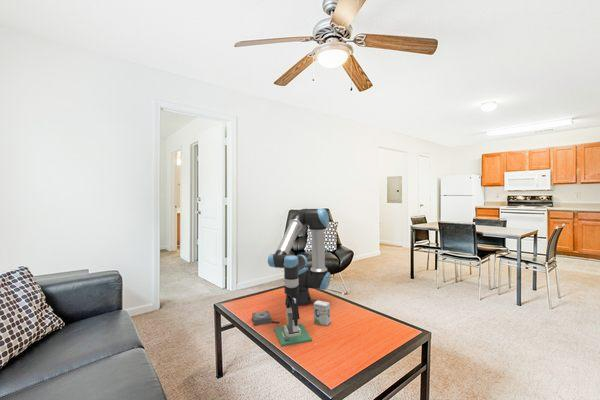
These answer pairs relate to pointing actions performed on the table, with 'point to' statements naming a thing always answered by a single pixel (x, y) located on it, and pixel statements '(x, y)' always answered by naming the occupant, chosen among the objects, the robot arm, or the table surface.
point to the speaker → (261, 318)
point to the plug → (290, 323)
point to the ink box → (322, 312)
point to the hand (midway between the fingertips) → (292, 325)
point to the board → (292, 335)
